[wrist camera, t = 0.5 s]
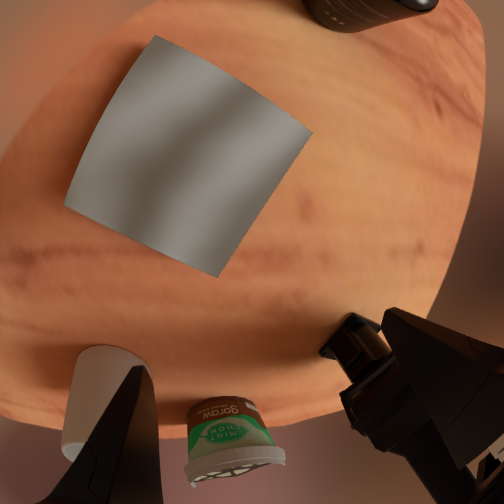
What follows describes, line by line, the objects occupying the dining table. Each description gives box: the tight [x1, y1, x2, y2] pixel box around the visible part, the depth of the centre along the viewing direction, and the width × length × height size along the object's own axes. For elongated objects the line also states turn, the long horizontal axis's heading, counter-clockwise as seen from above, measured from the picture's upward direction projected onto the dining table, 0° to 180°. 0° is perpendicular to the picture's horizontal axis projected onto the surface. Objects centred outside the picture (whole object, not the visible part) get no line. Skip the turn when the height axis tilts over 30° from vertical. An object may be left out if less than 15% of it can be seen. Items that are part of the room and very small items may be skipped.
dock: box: [63, 35, 313, 278], centre depth 17 cm, size 12×12×2 cm
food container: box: [184, 396, 286, 488], centre depth 26 cm, size 12×6×10 cm, turn 106°
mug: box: [61, 345, 152, 462], centre depth 20 cm, size 12×8×11 cm
